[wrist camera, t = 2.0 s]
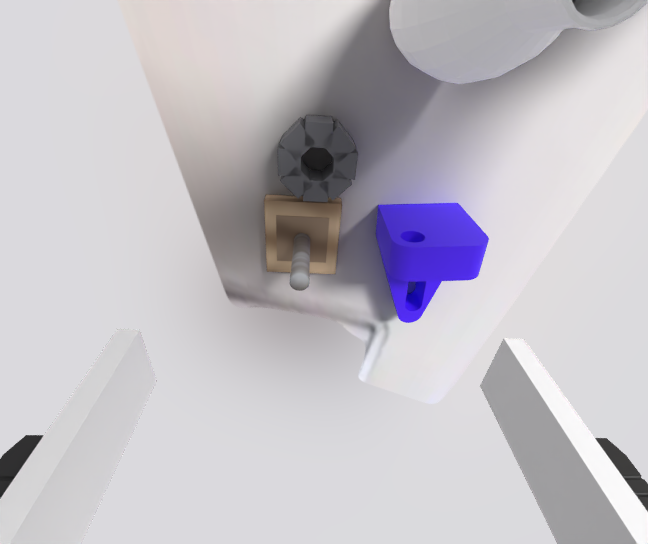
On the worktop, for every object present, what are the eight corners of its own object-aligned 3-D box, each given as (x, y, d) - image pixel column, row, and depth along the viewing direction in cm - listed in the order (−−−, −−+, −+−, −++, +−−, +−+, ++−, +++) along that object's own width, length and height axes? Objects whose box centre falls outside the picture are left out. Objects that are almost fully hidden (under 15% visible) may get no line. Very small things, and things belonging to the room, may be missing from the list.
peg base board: (266, 194, 45) (252, 237, 35) (340, 198, 45) (348, 242, 35) (268, 264, 51) (257, 317, 41) (334, 266, 51) (339, 320, 41)
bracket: (377, 204, 46) (395, 247, 36) (457, 202, 46) (495, 245, 36) (370, 305, 56) (381, 360, 46) (435, 303, 56) (460, 358, 47)
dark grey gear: (280, 113, 39) (277, 119, 36) (357, 118, 40) (360, 125, 36) (281, 188, 44) (278, 199, 41) (349, 191, 45) (351, 203, 41)
